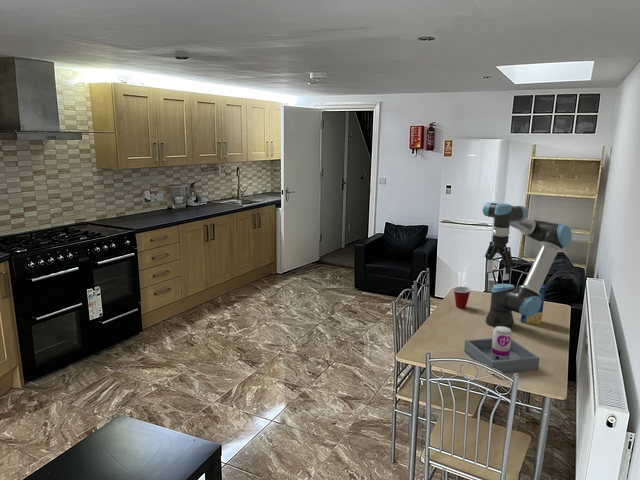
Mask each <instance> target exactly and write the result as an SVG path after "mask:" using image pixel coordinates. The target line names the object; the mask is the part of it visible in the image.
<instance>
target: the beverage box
mask: <svg viewBox="0 0 640 480" xmlns="http://www.w3.org/2000/svg"><path fill="white" fill-rule="evenodd" d="M546 289H547V287H546V286H545V284H544V283H543V284H542V286H541V288H540V290H539V293H540V297H539V298H540V299H541V307H540V309H539V311H538V312H537V313H536V314H535V315H533V316H526V315H521V314H520V313H519V321H520V323H526V324H532V325H533V324H534V325H542V319H543V310H544V304H545V303H544V302H545V294H546Z"/></svg>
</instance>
